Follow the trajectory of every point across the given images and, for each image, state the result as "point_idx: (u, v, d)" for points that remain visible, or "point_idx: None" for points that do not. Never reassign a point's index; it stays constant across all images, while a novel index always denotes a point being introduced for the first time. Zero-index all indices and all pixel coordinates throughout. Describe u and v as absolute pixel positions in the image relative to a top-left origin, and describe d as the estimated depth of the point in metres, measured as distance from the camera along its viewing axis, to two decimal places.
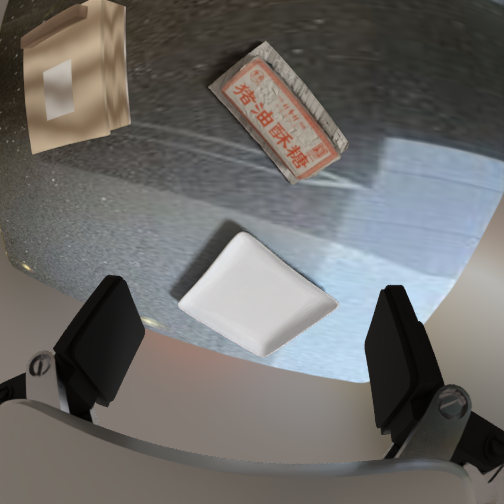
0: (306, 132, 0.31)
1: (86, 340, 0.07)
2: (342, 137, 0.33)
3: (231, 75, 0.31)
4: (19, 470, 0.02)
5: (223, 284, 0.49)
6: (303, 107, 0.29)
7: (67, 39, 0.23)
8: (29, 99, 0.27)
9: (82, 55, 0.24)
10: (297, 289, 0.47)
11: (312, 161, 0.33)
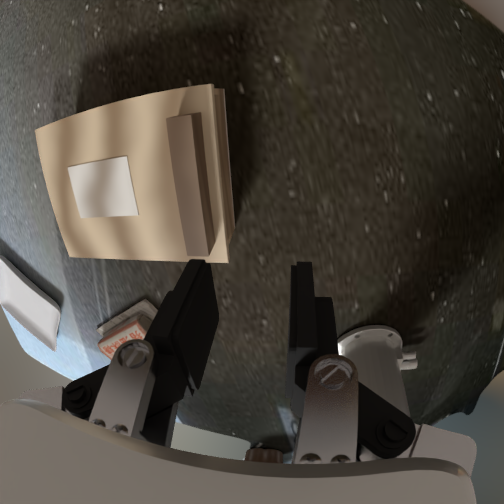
0: None
1: (186, 323, 0.08)
2: None
3: None
4: (19, 470, 0.02)
5: None
6: None
7: (169, 207, 0.25)
8: (93, 120, 0.21)
9: (141, 234, 0.27)
10: (48, 326, 0.52)
11: (109, 355, 0.46)
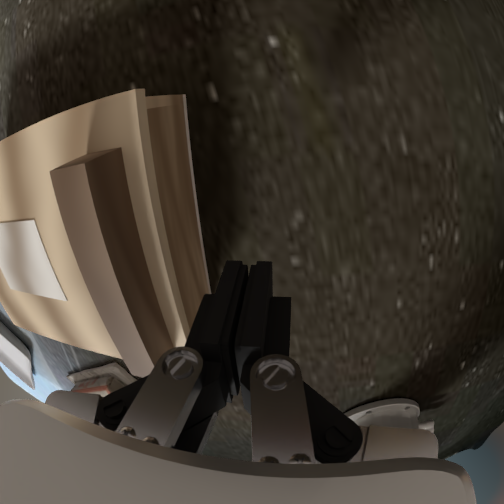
0: None
1: (233, 328, 0.08)
2: None
3: (127, 382, 0.32)
4: (19, 470, 0.02)
5: None
6: None
7: None
8: None
9: (77, 323, 0.17)
10: (24, 365, 0.42)
11: None
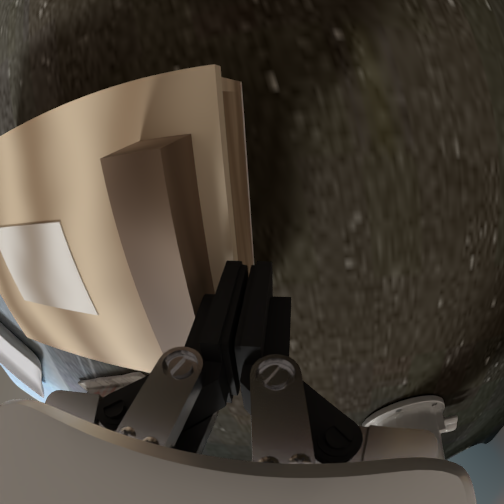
0: None
1: (233, 328, 0.08)
2: None
3: None
4: (19, 470, 0.02)
5: None
6: None
7: (144, 312, 0.14)
8: (6, 155, 0.10)
9: (109, 339, 0.16)
10: (33, 373, 0.41)
11: None
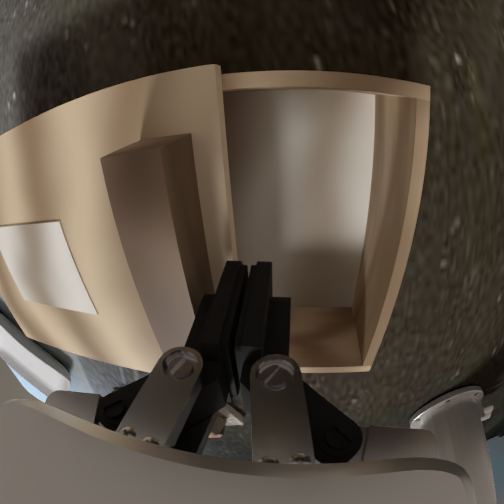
0: None
1: (233, 328, 0.08)
2: None
3: None
4: (19, 470, 0.02)
5: None
6: None
7: (143, 311, 0.14)
8: (6, 155, 0.10)
9: (109, 338, 0.16)
10: (55, 383, 0.40)
11: None
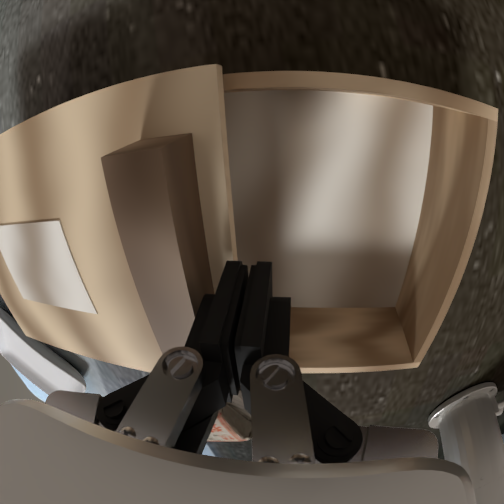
0: None
1: (233, 328, 0.08)
2: None
3: (240, 405, 0.30)
4: (19, 470, 0.02)
5: None
6: None
7: (143, 311, 0.14)
8: (6, 153, 0.10)
9: (108, 338, 0.16)
10: (66, 387, 0.39)
11: None
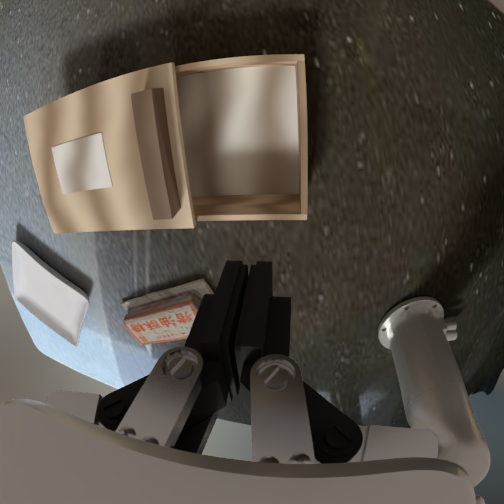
0: (154, 337, 0.44)
1: (233, 328, 0.08)
2: None
3: None
4: (19, 470, 0.02)
5: (46, 272, 0.45)
6: None
7: (138, 176, 0.26)
8: (73, 103, 0.22)
9: (115, 205, 0.28)
10: (70, 319, 0.52)
11: (135, 333, 0.44)
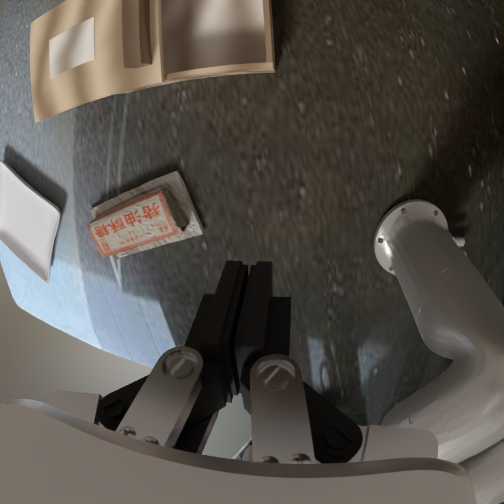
0: (117, 242, 0.39)
1: (233, 328, 0.08)
2: (121, 256, 0.44)
3: (180, 195, 0.38)
4: (19, 470, 0.02)
5: (25, 194, 0.41)
6: (136, 246, 0.40)
7: (118, 44, 0.22)
8: (75, 1, 0.18)
9: (94, 75, 0.24)
10: (43, 249, 0.47)
11: (99, 239, 0.39)
